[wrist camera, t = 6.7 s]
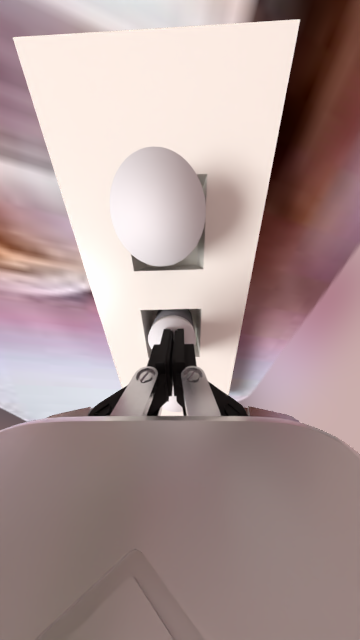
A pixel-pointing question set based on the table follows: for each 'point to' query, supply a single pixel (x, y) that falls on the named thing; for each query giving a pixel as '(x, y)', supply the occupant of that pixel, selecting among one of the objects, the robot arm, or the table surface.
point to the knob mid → (172, 325)
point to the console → (179, 136)
